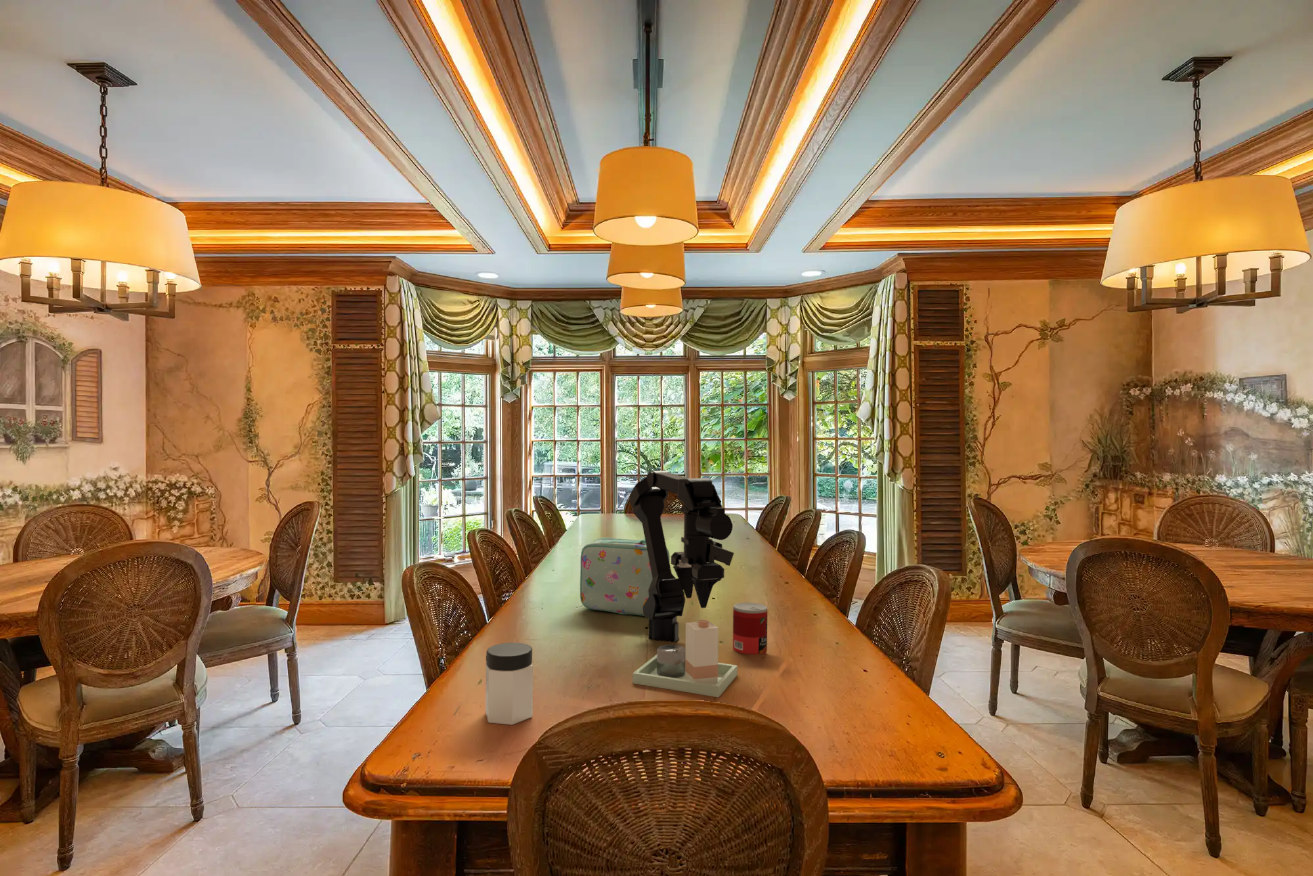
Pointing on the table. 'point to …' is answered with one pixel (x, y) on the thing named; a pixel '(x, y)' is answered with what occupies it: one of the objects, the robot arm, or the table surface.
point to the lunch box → (615, 575)
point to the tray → (651, 678)
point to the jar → (509, 683)
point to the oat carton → (701, 652)
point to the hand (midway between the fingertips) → (696, 602)
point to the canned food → (750, 628)
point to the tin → (671, 661)
